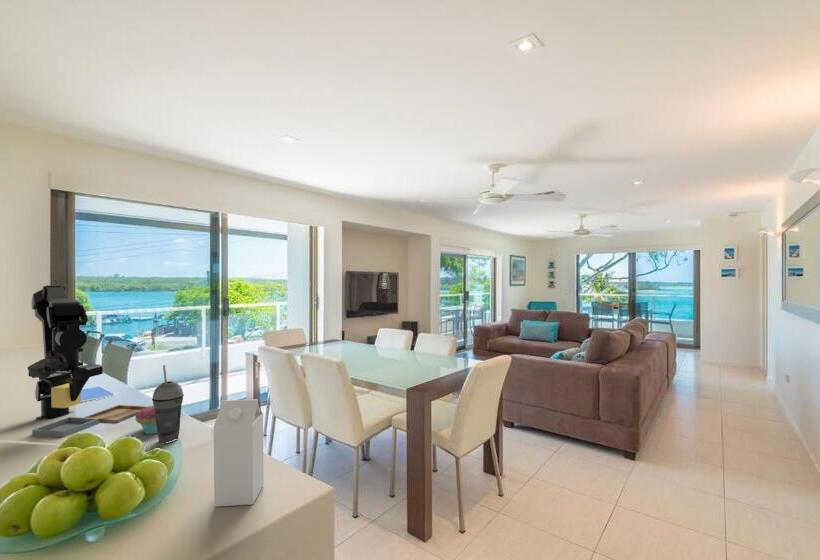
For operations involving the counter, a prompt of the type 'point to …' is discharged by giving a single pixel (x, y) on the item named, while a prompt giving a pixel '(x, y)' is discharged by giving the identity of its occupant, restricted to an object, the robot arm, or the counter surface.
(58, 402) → the block
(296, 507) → the counter surface
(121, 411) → the tray
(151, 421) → the cupcake
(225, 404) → the milk carton
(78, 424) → the dish
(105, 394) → the tablet computer
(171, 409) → the beverage cup
